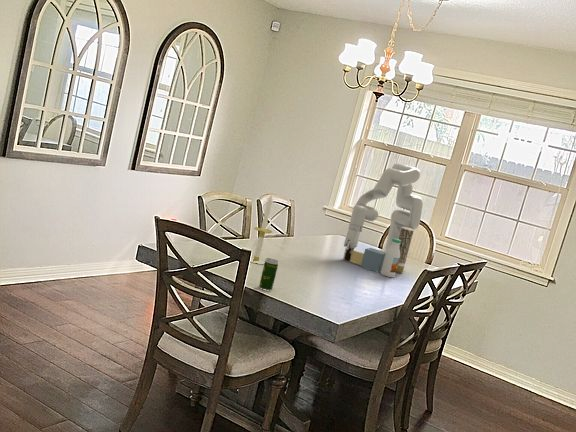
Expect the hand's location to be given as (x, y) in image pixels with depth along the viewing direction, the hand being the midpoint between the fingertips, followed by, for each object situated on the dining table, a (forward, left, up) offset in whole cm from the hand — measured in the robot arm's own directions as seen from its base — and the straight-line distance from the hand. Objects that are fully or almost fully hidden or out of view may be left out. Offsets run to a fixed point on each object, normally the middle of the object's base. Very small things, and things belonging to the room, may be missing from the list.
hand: (347, 259), depth 372 cm
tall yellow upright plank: (0, +3, 0) cm, 4 cm away
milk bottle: (+5, +25, -1) cm, 26 cm away
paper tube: (-14, +25, -1) cm, 28 cm away
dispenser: (0, +15, -1) cm, 15 cm away
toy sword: (+73, -19, -1) cm, 76 cm away
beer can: (+113, +7, -1) cm, 113 cm away
